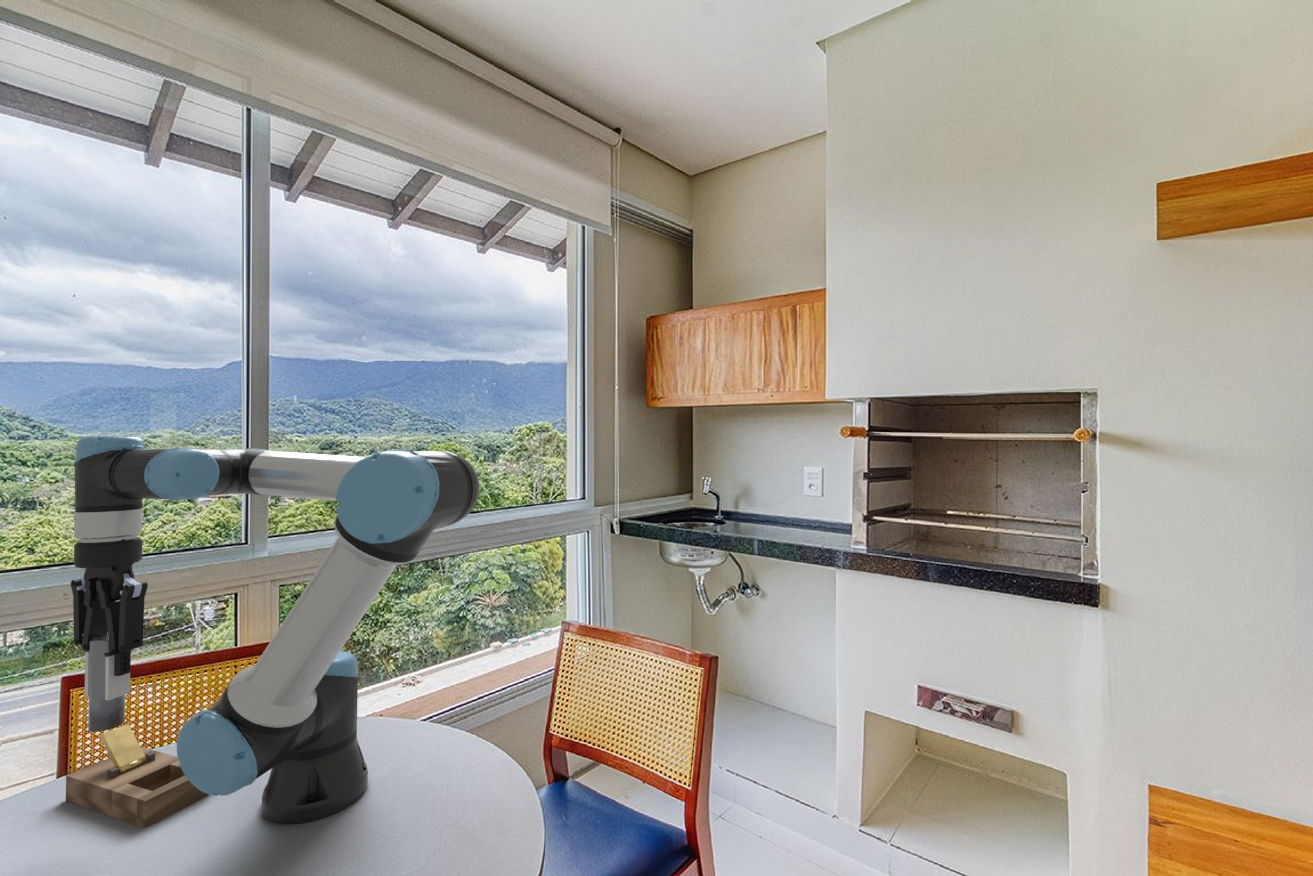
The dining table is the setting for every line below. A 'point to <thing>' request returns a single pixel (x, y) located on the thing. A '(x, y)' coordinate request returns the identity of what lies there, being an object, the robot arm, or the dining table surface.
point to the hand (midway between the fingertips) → (107, 694)
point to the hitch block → (134, 789)
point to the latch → (123, 748)
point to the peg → (102, 691)
